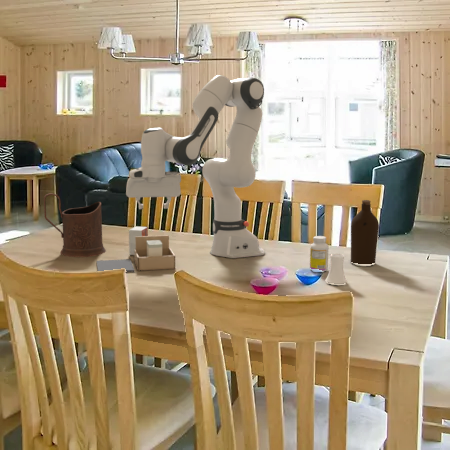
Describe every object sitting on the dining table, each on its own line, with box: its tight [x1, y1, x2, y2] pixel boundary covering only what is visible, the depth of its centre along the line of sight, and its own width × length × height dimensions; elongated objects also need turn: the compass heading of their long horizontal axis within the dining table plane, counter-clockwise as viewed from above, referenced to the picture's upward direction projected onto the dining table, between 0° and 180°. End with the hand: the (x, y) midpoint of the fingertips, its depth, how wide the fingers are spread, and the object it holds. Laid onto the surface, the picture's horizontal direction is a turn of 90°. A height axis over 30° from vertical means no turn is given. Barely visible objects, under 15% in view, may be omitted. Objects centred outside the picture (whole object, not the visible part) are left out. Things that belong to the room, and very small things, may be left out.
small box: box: [128, 226, 149, 256], centre depth 250 cm, size 8×6×10 cm
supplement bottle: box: [309, 235, 329, 272], centre depth 226 cm, size 7×7×13 cm
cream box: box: [147, 240, 162, 257], centre depth 232 cm, size 5×7×9 cm
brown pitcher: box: [43, 193, 107, 258], centre depth 249 cm, size 18×24×25 cm
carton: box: [134, 235, 176, 272], centre depth 232 cm, size 14×13×10 cm
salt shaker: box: [324, 253, 348, 284], centre depth 211 cm, size 8×8×10 cm
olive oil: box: [350, 199, 380, 264], centre depth 236 cm, size 11×11×25 cm
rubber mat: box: [96, 258, 135, 273], centre depth 229 cm, size 13×16×1 cm
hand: (153, 208), depth 228 cm, fingers open, 8 cm apart
